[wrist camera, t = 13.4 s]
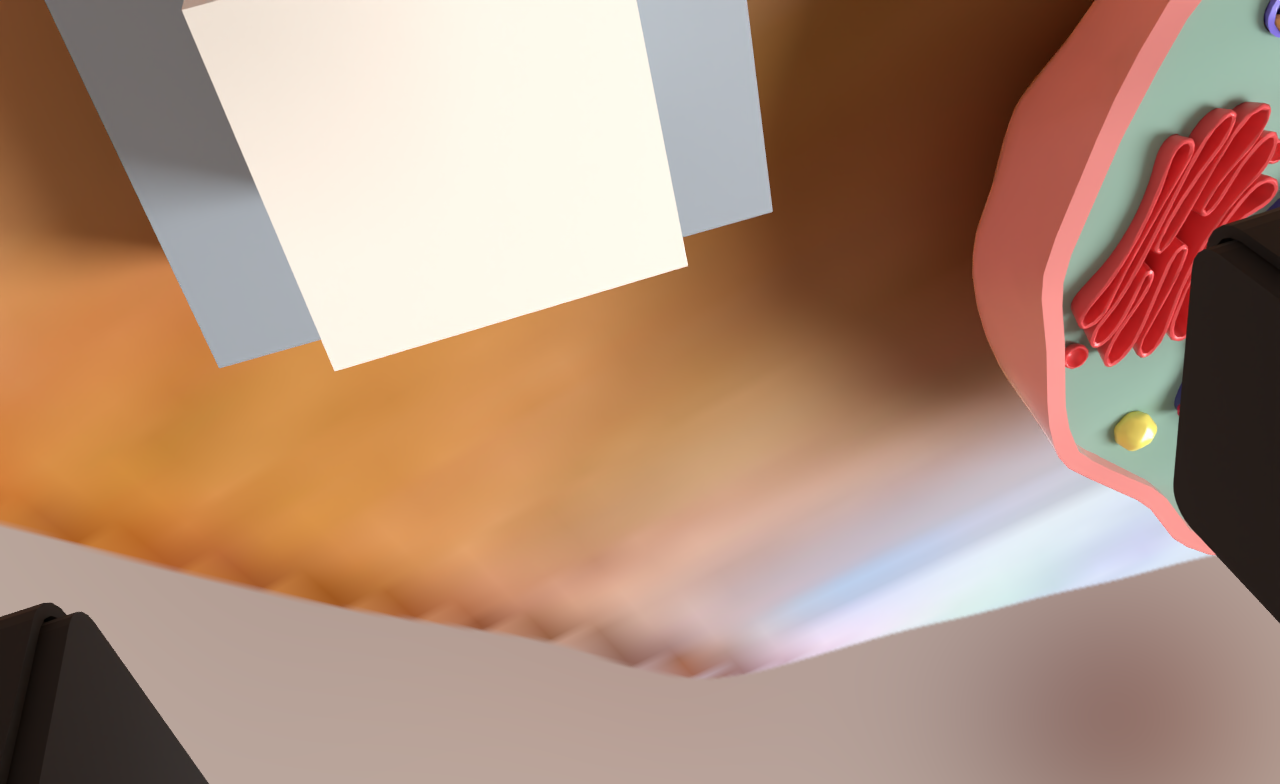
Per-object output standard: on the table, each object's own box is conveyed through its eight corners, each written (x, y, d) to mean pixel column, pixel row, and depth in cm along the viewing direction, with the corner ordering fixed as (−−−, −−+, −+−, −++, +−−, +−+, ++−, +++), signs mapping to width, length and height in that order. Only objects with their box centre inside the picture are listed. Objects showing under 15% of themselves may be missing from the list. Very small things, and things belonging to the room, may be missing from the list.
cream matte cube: (206, -106, 22) (182, 9, 16) (529, -192, 22) (615, -107, 17) (321, 191, 25) (334, 371, 20) (598, 112, 26) (688, 265, 20)
